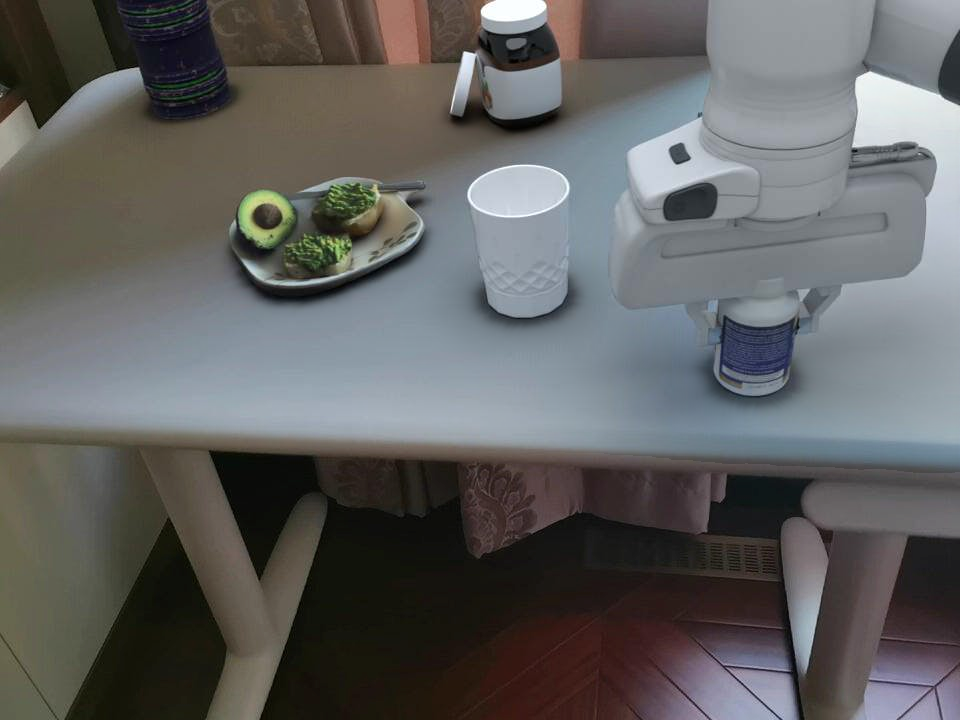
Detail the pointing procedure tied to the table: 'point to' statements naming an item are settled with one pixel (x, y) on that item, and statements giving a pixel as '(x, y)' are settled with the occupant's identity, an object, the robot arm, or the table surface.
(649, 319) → the table surface
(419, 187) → the avocado toast plate
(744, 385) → the pill bottle
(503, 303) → the white cup
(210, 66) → the storage jar
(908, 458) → the table surface
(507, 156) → the table surface
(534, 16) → the spread jar
